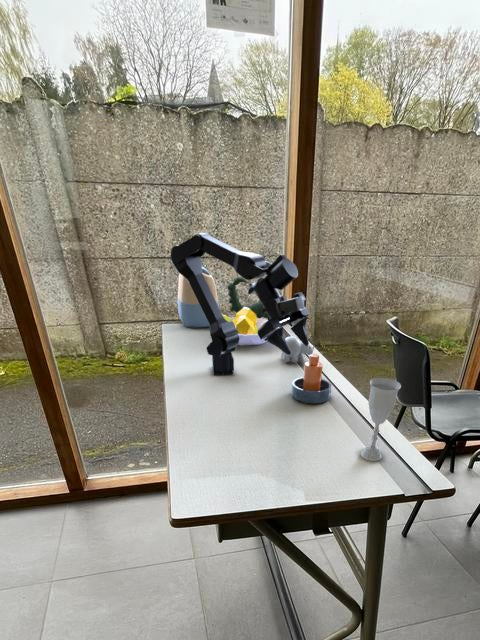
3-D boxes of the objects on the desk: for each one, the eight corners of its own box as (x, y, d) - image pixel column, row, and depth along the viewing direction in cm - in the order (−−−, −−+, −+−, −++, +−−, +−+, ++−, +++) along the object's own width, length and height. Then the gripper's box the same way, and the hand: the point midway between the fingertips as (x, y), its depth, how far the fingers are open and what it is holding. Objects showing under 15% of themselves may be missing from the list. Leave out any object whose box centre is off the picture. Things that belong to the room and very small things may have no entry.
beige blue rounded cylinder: (221, 328, 187) (219, 267, 173) (181, 329, 183) (176, 266, 168) (215, 318, 199) (212, 260, 185) (178, 318, 195) (172, 259, 181)
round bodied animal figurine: (314, 364, 156) (317, 340, 151) (281, 364, 155) (283, 339, 150) (311, 357, 162) (313, 334, 157) (279, 357, 160) (280, 333, 155)
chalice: (354, 448, 108) (366, 377, 98) (380, 448, 109) (395, 378, 98) (360, 463, 103) (374, 390, 92) (388, 463, 103) (405, 390, 92)
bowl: (296, 405, 127) (297, 392, 125) (287, 389, 136) (288, 377, 134) (334, 403, 129) (336, 391, 127) (323, 388, 139) (325, 376, 136)
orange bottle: (309, 399, 130) (312, 359, 122) (299, 393, 133) (301, 354, 126) (322, 396, 132) (327, 356, 125) (312, 390, 135) (316, 351, 128)
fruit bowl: (290, 340, 179) (292, 310, 172) (251, 355, 160) (251, 323, 153) (236, 326, 190) (236, 298, 183) (194, 340, 171) (192, 309, 164)
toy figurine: (231, 326, 196) (286, 323, 197) (226, 280, 184) (284, 276, 185) (231, 321, 203) (284, 318, 204) (226, 275, 191) (283, 272, 193)
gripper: (268, 289, 112) (298, 345, 115) (308, 276, 123) (334, 327, 127) (244, 312, 120) (273, 364, 123) (283, 299, 132) (309, 346, 135)
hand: (298, 349), depth 127 cm, fingers open, 9 cm apart
